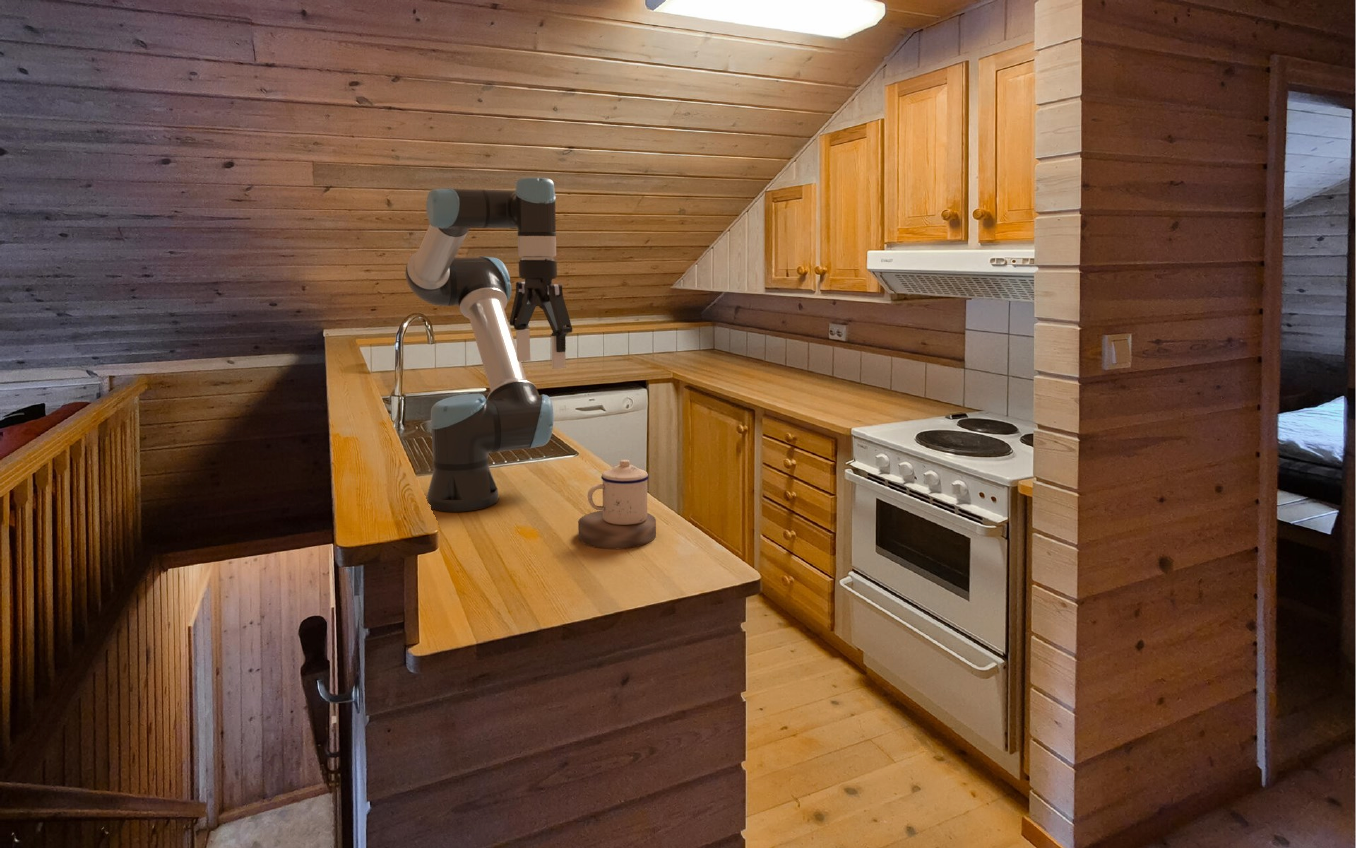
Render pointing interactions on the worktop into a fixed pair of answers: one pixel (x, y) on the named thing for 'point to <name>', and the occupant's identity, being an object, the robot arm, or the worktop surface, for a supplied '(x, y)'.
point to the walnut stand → (615, 532)
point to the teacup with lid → (623, 494)
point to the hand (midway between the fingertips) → (540, 364)
